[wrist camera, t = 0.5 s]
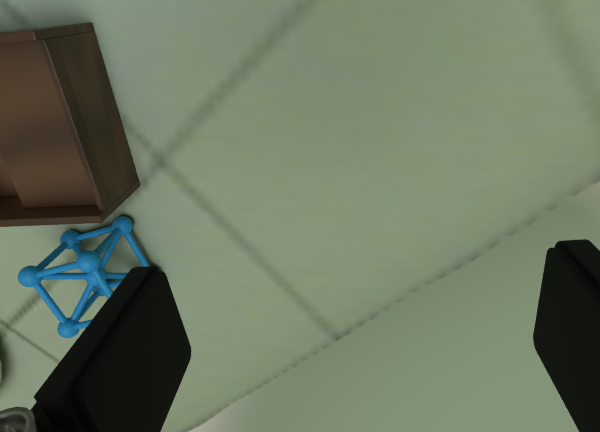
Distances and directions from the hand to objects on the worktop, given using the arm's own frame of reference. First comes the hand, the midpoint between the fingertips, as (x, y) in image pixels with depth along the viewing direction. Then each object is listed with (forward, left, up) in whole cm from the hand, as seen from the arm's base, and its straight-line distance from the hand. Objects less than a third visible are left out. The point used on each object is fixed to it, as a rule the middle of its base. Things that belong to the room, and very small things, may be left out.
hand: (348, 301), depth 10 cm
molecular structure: (+20, -31, -35) cm, 51 cm away
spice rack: (+2, -33, -35) cm, 48 cm away
